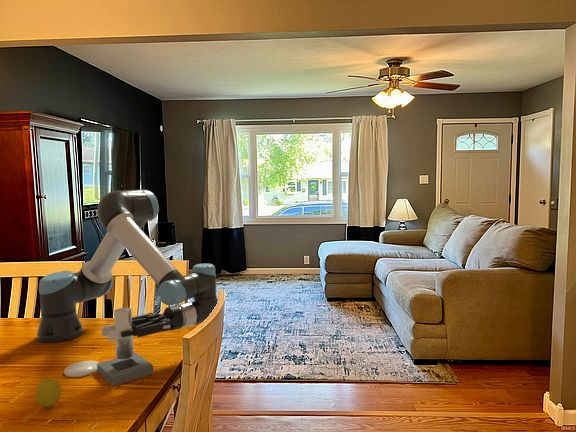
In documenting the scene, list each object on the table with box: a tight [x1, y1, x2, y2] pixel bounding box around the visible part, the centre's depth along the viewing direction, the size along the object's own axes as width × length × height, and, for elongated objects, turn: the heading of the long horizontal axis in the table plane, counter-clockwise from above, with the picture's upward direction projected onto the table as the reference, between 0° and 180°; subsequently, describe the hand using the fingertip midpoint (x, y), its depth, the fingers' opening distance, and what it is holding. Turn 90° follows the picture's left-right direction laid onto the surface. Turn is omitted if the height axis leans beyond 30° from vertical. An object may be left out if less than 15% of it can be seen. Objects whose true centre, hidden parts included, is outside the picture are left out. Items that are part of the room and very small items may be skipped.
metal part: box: [113, 307, 135, 359], centre depth 130 cm, size 5×5×14 cm
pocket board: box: [96, 352, 154, 387], centre depth 132 cm, size 13×12×2 cm
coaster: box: [63, 360, 100, 378], centre depth 134 cm, size 10×10×1 cm
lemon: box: [35, 376, 62, 409], centre depth 112 cm, size 6×6×8 cm
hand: (105, 334), depth 127 cm, fingers closed on metal part, 5 cm apart
